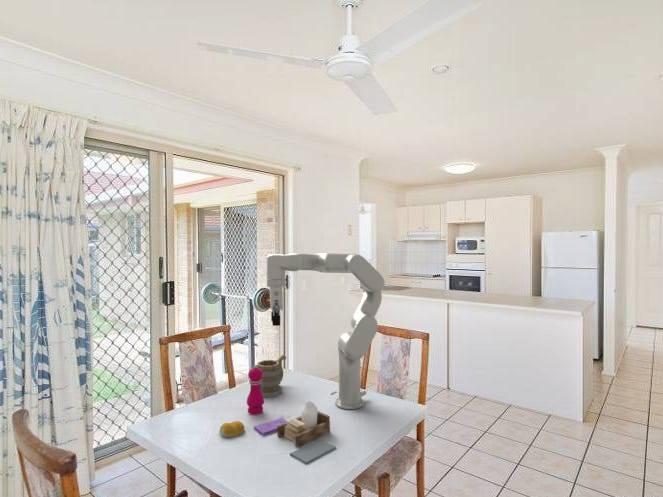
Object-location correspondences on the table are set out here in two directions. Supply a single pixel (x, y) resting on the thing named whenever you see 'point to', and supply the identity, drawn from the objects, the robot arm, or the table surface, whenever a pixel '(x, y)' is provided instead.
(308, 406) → the white tall rounded lump
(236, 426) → the bread roll
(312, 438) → the rack
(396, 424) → the table surface
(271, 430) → the sponges
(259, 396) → the pepper mill
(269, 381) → the mortar and pestle
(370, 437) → the table surface
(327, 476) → the table surface
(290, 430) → the offcut stack
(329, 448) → the mat
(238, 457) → the table surface
